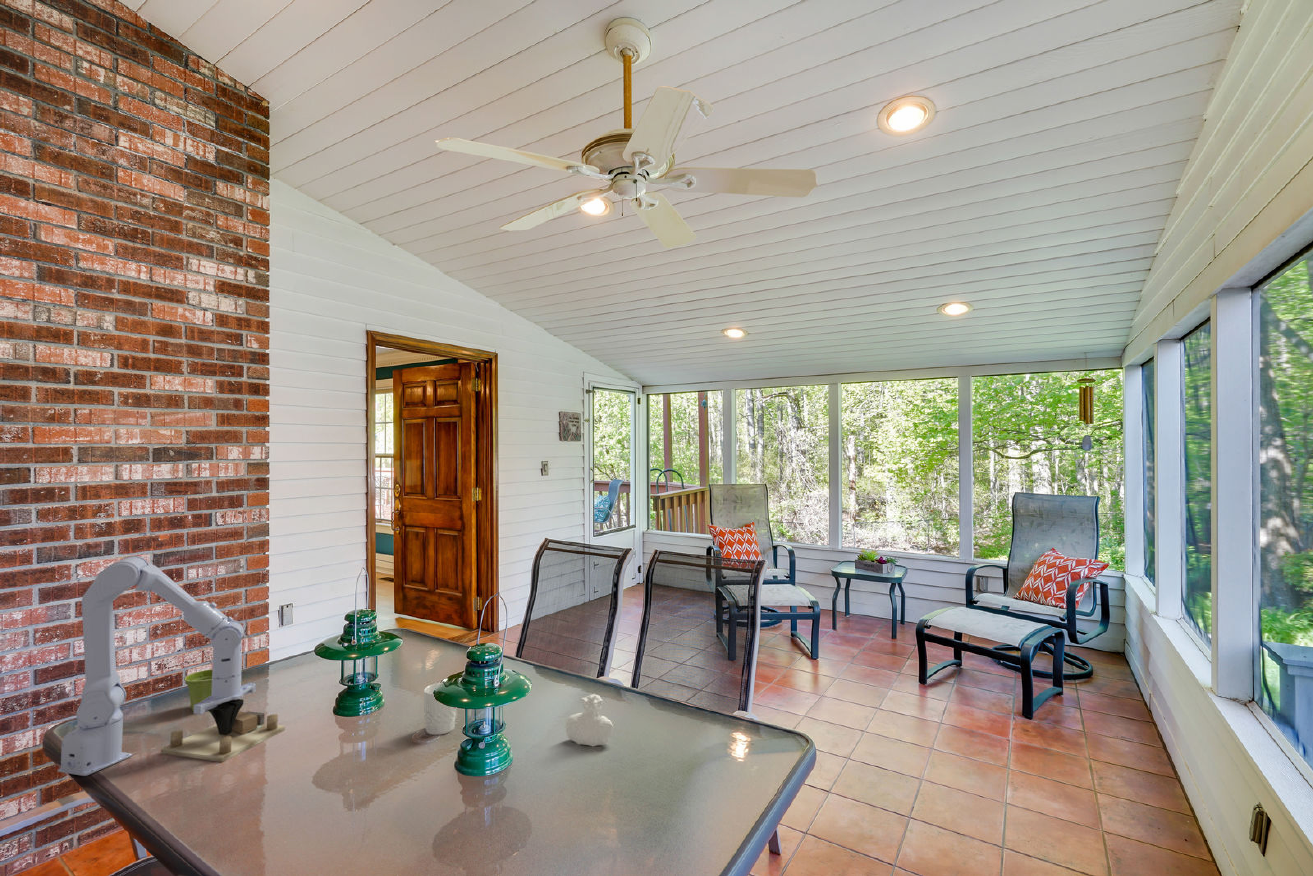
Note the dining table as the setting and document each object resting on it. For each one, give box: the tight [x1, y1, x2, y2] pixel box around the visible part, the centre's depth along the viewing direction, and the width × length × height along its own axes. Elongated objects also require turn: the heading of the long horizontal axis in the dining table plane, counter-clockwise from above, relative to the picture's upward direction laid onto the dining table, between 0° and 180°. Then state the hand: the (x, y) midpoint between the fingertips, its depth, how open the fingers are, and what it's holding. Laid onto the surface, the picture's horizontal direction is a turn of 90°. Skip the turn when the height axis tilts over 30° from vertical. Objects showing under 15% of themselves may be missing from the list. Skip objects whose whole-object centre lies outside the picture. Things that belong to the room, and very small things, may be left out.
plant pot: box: [184, 668, 212, 712], centre depth 166 cm, size 9×9×9 cm
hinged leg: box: [232, 710, 257, 734], centre depth 151 cm, size 11×4×4 cm, turn 67°
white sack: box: [565, 693, 614, 748], centre depth 149 cm, size 12×8×11 cm
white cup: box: [423, 682, 457, 736], centre depth 154 cm, size 8×8×10 cm
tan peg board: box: [160, 711, 286, 763], centre depth 146 cm, size 17×17×4 cm
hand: (225, 733), depth 146 cm, fingers closed
